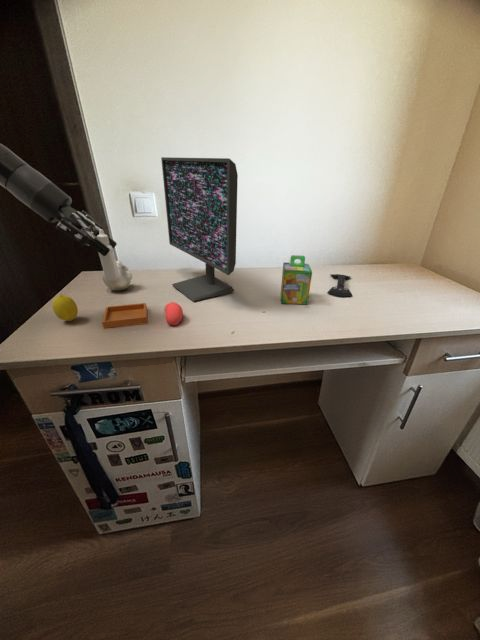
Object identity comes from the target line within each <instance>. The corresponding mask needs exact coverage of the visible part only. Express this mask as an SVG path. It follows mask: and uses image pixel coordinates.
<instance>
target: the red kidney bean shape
mask: <svg viewBox="0 0 480 640" xmlns="http://www.w3.org/2000/svg"><path fill="white" fill-rule="evenodd" d="M183 315H184V312H183V308H182V306H181V305H180V304H179V303H178V302H174V301H173V302H168V303H166V305H165V307H164V317H165V321H166V322H167V324H168V325H170V326H176V325H178V324H179V323H180V322H181V321H182V320H183Z"/></svg>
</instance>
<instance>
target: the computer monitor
mask: <svg viewBox="0 0 480 640" xmlns="http://www.w3.org/2000/svg"><path fill="white" fill-rule="evenodd" d="M160 159H161V171H162V181H163V190H164V201H165V202H164V203H165V212H166V220H167V221H166V223H167V231H168V241H169V245H170V246H172V247H174V248H175V249H178V250H179V251H182V252H184V253H185V254H188V255H189V256H191V257H193V258H195V259H196V260H199V261H201V262H203V263H205V274H203V275H199V276H197V277H192V278H189V279H185V280H180V281H178V282H174V283H172V284H171V285H172V287H174V288H175V289H177V290H178V291H179V292H180V293H182V294H183V295H185V296H186V297H187V298H188V299H189V300H191V301H192V302H199V301H202V300H206V299H212V298H214V297H218V296H223V295H226V294H231V293H233V292H234V291H235V289H234V288H233V286H232V285H230V284H228V283H226V282H225V281H223V280H222V279H220V278H218V277H217V276H216V270H217V271H219V272H221V273H223V274H225V275H227V276H229V275H231V274H232V273H234V271H235V268H236V264H237V227H238V225H237V222H238V221H237V219H238V178H239V177H238V176H239V175H238V169H237V165H236V163H235V162H234V161H233V160H232V159H231V158H226V157H225V158H224V157H222V158H221V157H219V158H218V157H167V156H166V157H162V156H161V157H160ZM215 269H216V270H215ZM235 292H236V291H235Z"/></svg>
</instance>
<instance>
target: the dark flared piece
mask: <svg viewBox="0 0 480 640" xmlns="http://www.w3.org/2000/svg"><path fill="white" fill-rule="evenodd" d="M329 276H330V277H331V278H332V279H333V280H336V281H337V283H336V285H335V286H332V287H331V288H330V289H329V290H327V294H328V295H330V296H332V297H336V298H351V297H353V294H352V292H351V290H350V288H348V287H345V283H346V281H349V279H350V278H351V276H350V275H346V274H341V273H333V274H331V273H330V274H329Z"/></svg>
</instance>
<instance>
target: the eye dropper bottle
mask: <svg viewBox="0 0 480 640" xmlns="http://www.w3.org/2000/svg"><path fill="white" fill-rule="evenodd" d="M103 231H104V229H103V230H102V229H100V230H99V235H97V239H98V240H99V241H100V242H102V243H103V244H104V245H106V246H107V247H108V248H109V249H110V251H109V252H108V254H107V255H106V256H103V255H102V254H100V253H99V252H98V251H97V252H98V253H97V254H98V257H99V260H100V263H101V268H102V272H103V271H104V275H105V278H106V280H107V281H115V280H118V279H119V277H120V275H119V271H118V267H117V263H116V261H117V259H116V254H115V250H114V249H113V248H112V246H111V245H109V244H110V243H109V239H108V236H109V235H107V234H106V233H105V232H104V233H105V234H106V235H105V234H104V233H103Z"/></svg>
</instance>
